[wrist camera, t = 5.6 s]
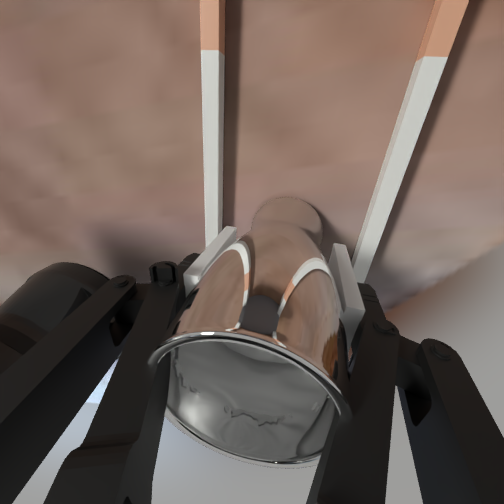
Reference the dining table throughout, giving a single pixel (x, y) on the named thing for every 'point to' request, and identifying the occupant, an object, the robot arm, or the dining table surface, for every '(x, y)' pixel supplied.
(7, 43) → the dining table surface
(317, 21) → the dining table surface
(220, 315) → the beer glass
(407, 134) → the guide track
